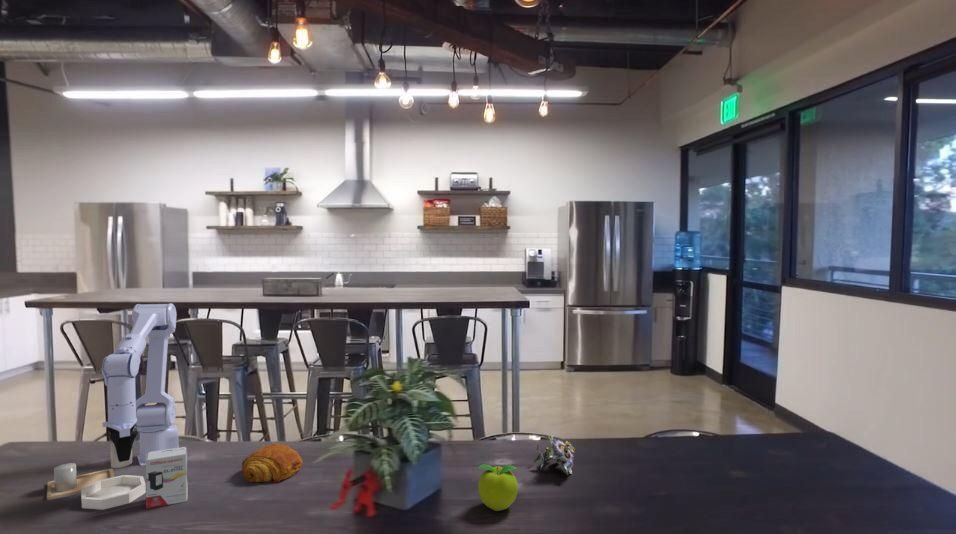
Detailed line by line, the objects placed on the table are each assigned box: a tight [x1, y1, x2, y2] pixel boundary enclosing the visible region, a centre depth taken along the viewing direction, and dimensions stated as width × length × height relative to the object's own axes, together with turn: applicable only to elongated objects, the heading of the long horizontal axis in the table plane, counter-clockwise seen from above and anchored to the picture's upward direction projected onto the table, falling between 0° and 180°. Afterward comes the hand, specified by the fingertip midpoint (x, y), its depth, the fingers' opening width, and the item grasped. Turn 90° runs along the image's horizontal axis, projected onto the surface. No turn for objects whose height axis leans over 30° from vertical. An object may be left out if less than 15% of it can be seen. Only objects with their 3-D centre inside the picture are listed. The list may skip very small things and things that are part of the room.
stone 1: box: [53, 462, 78, 492], centre depth 134 cm, size 4×4×5 cm
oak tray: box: [46, 467, 115, 501], centre depth 136 cm, size 14×11×1 cm
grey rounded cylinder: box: [109, 441, 133, 469], centre depth 132 cm, size 4×4×5 cm
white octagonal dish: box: [80, 474, 146, 511], centre depth 130 cm, size 13×13×3 cm
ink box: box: [145, 446, 189, 510], centre depth 128 cm, size 9×5×12 cm, turn 117°
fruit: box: [477, 463, 518, 512], centre depth 126 cm, size 9×9×10 cm
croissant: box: [241, 443, 304, 483], centre depth 145 cm, size 14×16×8 cm
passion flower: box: [533, 435, 577, 476], centre depth 146 cm, size 11×11×12 cm
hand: (123, 457), depth 132 cm, fingers closed on grey rounded cylinder, 4 cm apart
